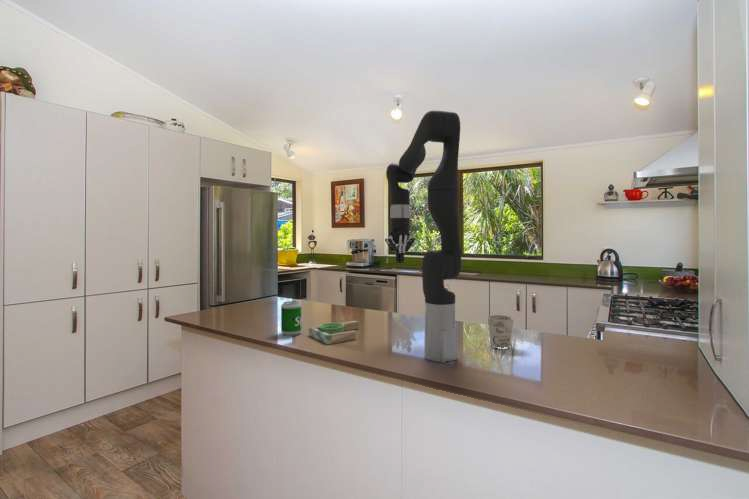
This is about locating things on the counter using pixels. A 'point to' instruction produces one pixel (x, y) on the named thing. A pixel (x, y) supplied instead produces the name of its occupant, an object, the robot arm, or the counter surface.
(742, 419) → the counter surface
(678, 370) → the counter surface
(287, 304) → the soda can
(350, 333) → the rail pocket
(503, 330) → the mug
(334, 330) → the ramekin
